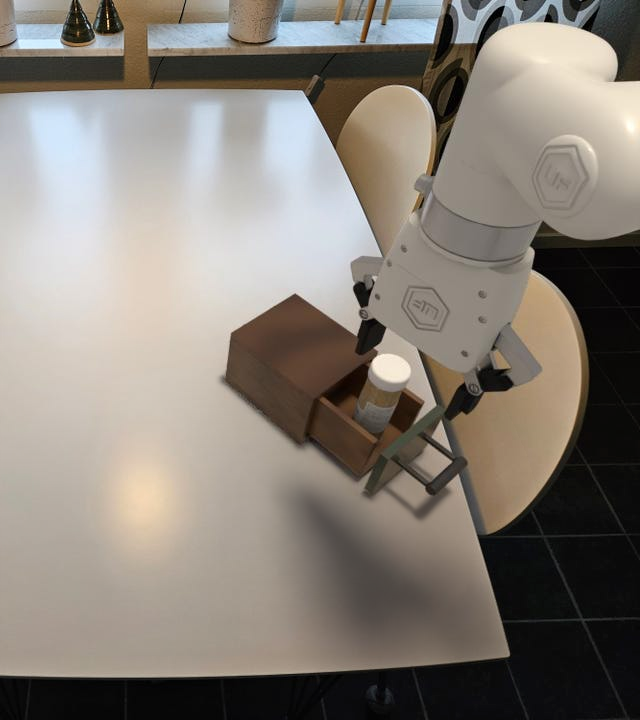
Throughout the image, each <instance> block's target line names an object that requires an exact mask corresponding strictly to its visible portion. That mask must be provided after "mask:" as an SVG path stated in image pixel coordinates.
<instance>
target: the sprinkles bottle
mask: <svg viewBox="0 0 640 720" xmlns="http://www.w3.org/2000/svg"><path fill="white" fill-rule="evenodd" d="M411 376H412V368H411V366H410V363H408V361H407V360H405V359H404V358H403V357H401V356H399V355H397V354H393V353H382V354H377V356H376V357H375V358H374V359H373V361H372V363H371V365H370V368H369V371H368V378H367V380H366V383H365V386H364V388H363V390H362V392H361V395H360V397H359V400H358V402H357V405H356V407H355V410H354V413H353V417H352V420H353V421H355V422H356V423H357V424H359V425H360V426H361V427H362V428H364V429H365V430H366V431H367V432H369V433H370V434H371V435H373V436H374V437H375V438H376V439H378V442H377V444H376V445H378V444H379V443H380V441H381V439H382V435H383V432H384V430H385V428H386V427H387V425H388V423H389V421H390V418H391V416H392V414H393V412H394V410H395V407H396V405H397V403H398V401H399V397H400V395H401V393H402V391H403V389H404V388H405V387H406V388H407V385H408V384H409V381H410V379H411Z"/></svg>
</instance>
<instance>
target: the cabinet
mask: <svg viewBox="0 0 640 720" xmlns="http://www.w3.org/2000/svg"><path fill="white" fill-rule="evenodd" d="M358 340H359V339H358V338H357V334H356V335H355V334H354V333H353V332H351V331H350V330H348V329H347V328H346V327H344V326H343V325H341V324H340V323H339V322H338V321H336V320H334V319H333V318H332V317H330V316H329V315H327V314H325V313H324V312H323V311H321V310H320V309H318V308H317V307H316V306H314V305H313V304H312V303H310V302H308V301H307V300H306V299H304V298H303V297H302V296H300V295H299V294H297V293H293V294H291V295H290V296H288V297H286V298H285V299H283V300H281V301H280V302H278V303H277V304H275V305H274V306H271V307H270V308H269V309H267V310H265V311H264V312H262V313H261V314H259V315H258V316H256V317H254V318H253V319H251V320H250V321H248V322H246V323H245V324H242V325H241V326H239V327H238V328H236V329H235V330H233V331H232V332H230V336H229V345H228V353H227V361H226V369H225V379H224V380H225V381H226V382H227V383H229V384H230V385H231V386H232V387H233V388H234V389H235V390H237V391H238V392H239V393H240V394H241V395H242V396H243V397H245V398H246V399H247V400H248V401H250V402H251V403H252V404H253V405H254V406H255V407H256V408H258V409H259V410H260V411H261V412H262V413H263V414H265V415H266V416H267V417H268V418H269V419H270V420H271V421H272V422H273V423H275V424H276V425H277V426H279V427H280V428H281V429H282V430H283V431H284V432H286V434H288V435H289V436H290V437H291V438H292V439H293V440H295V441H296V442H297V443H298V444H299V445H302V444H304V442H305V441H307V440H308V439H309V438H312V436H311V435H309V434H308V433H307V431H308V428H309V424H310V421H311V418H312V414H313V411H314V408H315V404H316V401H317V399H319V398H320V397H321V396H323V395H324V394H326V393H327V392H328V391H330V390H331V389H332V388H334V387H335V386H336V385H338V384H339V383H340V382H342V381H343V380H344V379H346V378H347V377H349V376H350V375H351V374H353V373H354V372H355V371H357V370H358V369H359V368H361V367H362V366H363V365H365V364H366V363H367V362H371V363H372V361H373V359H374V358H375V357H377V356H378V355H379V350H377V349H375V347H374V348H373V349H371V350H370V351H369V352H367V353H366V354H364V355H363V356H362V355H360V356H359V355H358V354H356V353H355V349H356V346H357V343H358Z"/></svg>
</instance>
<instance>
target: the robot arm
mask: <svg viewBox="0 0 640 720" xmlns="http://www.w3.org/2000/svg"><path fill="white" fill-rule="evenodd" d="M618 67H619V63H618V56H617V53H616V52H615V49H614V48H613V47H612V46H611V44H610V43H609V42H608V41H606V40H605V39H604V38H602V37H600V36H598V35H597V34H594V33H592V32H590V31H587V30H585V29H583V28H579V27H575V26H573V25H568V24H562V23H555V22H545V21H544V22H543V21H530V22H519V23H514V24H510V25H508V26H505V27H503V28H501V29H499V30H497V31H496V32H495V33H493V34H492V35H491V36H490V37H489V38H488V39H487V40H486V41H485V42H484V43H483V45H482V47H481V49H480V50H479V52H478V55H477V58H476V60H475V62H474V65H473V68H472V70H471V73H470V76H469V79H468V81H467V85H466V88H465V91H464V93H463V96H462V99H461V102H460V104H459V108H458V111H457V113H456V116H455V119H454V122H453V125H452V128H451V131H450V134H449V136H448V138H447V141H446V144H445V147H444V150H443V153H442V156H441V159H440V162H439V165H438V167H437V170H436V172H435V175H429V174H427V173H425V172H424V173H422V174H420V175H419V176H418V178H416V181H415V182H414V185H413V189H414V191H417V192H418V193H420V195H421V196H422V197H423V202H422V206H421V208H418V209H416V210H414V211H412V212H411V213H410V214H409V216H408V217H407V219H406V220H405V222H404V224H403V225H402V227H401V228H400V230H399V232H398V233H397V236H396V237H395V239H394V241H393V243H392V244H391V247H390V249H389V251H388V253H387V254H386V256H385V257H382V256H370V255H361V256H359V257H356V258H355V259H353V260H352V261H350V265H349V266H350V271H351V277H352V281H353V283H354V285H353V286H352V291H353V295H354V296H355V298H356V300H357V302H358V305H359V307H360V308H359V309H358V310H357V311H358V312H357V314H358V316H359V318H360V319H361V322H360V324H359V328H358V331H357V334H356V336H357V338H358V339H359V340H358V343H357V346H356V349H355V353H356V354H358V355H359V356H360V355H362V356H363V355H364V354H366V353H367V352H369V351H370V350H371V349H373V348H374V349H375V348H377V346H379V345H380V344H381V343H382V342H383V340H384V336H385V334H386V330H387V329H388V330H390V331H391V332H393V334H395V335H397V336H399V338H401V339H403V340H404V341H405V342H407V343H409V344H410V345H412V346H413V347H414V348H416V349H418V350H419V351H420V352H422V353H424V354H425V355H427V356H428V357H429V358H431V359H432V360H434V361H436V362H437V363H439V364H440V365H442V367H443V366H444V367H445V368H447V369H448V370H451V371H453V372H456V373H459V374H461V375H462V378H463V381H464V382H462V383H461V384H460V385H459V386H458V387H457V388H456V390H455V392H454V394H453V396H452V397H451V399H450V401H449V403H448V405H447V407H446V408H445V409H446V411H445V413H444V415H443V416H444V418H445V419H446V420H448V421H449V422H451V421H452V420H454V419H455V418H456V417H457V416H459V415H460V414H461V413H462V414H464V415H465V416H468V415H469V414H471V413H472V412H473V411H474V410H475V409H476V407H477V406H478V405H479V403H480V401H481V399H482V398H483V396H484V394H485V393H501V392H508V391H509V390H510V389H513V388H515V387H519V386H522V385H525V384H528V383H529V382H532V381H533V380H534V379H536V378H537V377H538V376H539V375H540V374H541V373H542V372H543V367H542V366H541V364H540V362H539V361H538V360H537V358H536V357H535V355H533V353H532V352H531V351H530V350H529V348H528V347H527V345H526V344H525V343H524V342H523V340H522V339H521V338H520V336H519V335H518V334H517V333H516V332H515V329H513V328H512V325H513V323H514V320H515V318H516V316H517V313H518V311H519V309H520V306H521V304H522V301H523V298H524V295H525V292H526V290H527V288H528V287H527V286H528V283H529V280H530V276H531V273H532V268H533V264H534V259H535V250H534V249H533V247H531V244H532V242H533V240H534V238H535V236H536V234H537V232H538V230H539V228H540V226H541V225H542V223H543V222H544V223H545V224H546V225H548V226H549V227H550V228H552V229H553V230H555V231H556V232H558V233H560V234H562V235H563V236H566V237H568V238H572V239H576V240H582V241H600V240H607V239H611V238H616V237H619V236H623V235H627V234H630V233H633V232H636V231H639V230H640V80H632V81H631V80H629V81H615V80H616V78H617V73H618ZM373 277H376V278H375V280H374V279H373ZM496 351H498V352H499V354H500V355H501V356H502V358H503V359H504V360H505V361H506V362H507V364H508V365H509V368H499V367H498V364H497V360H496V357H495V355H494V352H496Z"/></svg>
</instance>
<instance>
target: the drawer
mask: <svg viewBox="0 0 640 720" xmlns="http://www.w3.org/2000/svg"><path fill="white" fill-rule="evenodd" d="M370 365H371V362H367V363H366V364H365V365H363V366H362V367H361V368H359V369H358V370H357V371H355V372H354V373H353V374H351V375H350V376H349V377H347V378H346V379H344V380H343V381H342V382H340V383H339V384H338V385H336V386H335V387H334V388H332V389H331V390H330V391H328V392H327V393H326V394H324V395H323V396H321V397H320V398H319V399H317V401H316V404H315V408H314V411H313V414H312V418H311V421H310V424H309V428H308V431H307V433H308V434H309V435H311V438H312V439H314V440H315V441H316V442H317V443H319V444H320V445H321V446H322V447H323V448H325V449H326V450H327V451H328V452H329V453H331V454H332V455H333V456H334V457H335V458H337V460H338V461H340V462H341V463H342V464H344V465H345V466H346V467H347V468H348V469H350V470H351V471H352V472H353V473H354V474H355V475H357V476H358V477H361V476H362V475H364V474H365V473H366V472H367V471H368V470H370V469H371V468H372V467H373V468H372V470H371V472H370V474H369V477H368V479H367V481H366V484H365V485H364V487H363V489H364V490H365V491H367V493H369V494H370V495H371V496H372V495H373V494H374V493H376V492H377V491H378V490H379V489H380V488H382V486H383V485H385V484H386V483H387V482H388V481H389V480H390V479H392V478H393V476H395V475H396V474H397V473H399V471H400V470H403V471H405V472H406V473H407V474H409V475H410V476H411V478H414V480H416V481H417V482H418V483H420V484H421V485H422V486H423V487H424V489H425V492H426V493H427V494H428V495H429V496H430V497H431V496H432V497H435V496H436V495H438V494H439V493H440V492H441V491H442V490H443V489H445V487H447V485H449V483H451V482H452V481H453V479H455V478H456V477H457V476H458V475H459V474H460V473H462V471H463V470H464V469H465V468H467V467H468V465H469V462H468V460H467V458H465V457H464V456H462V455H458V456H457V455H456V454H454V453H453V452H452V451H450V450H449V449H447V448H446V447H445V446H444V445H442V444H441V443H440V442H438V441H437V440H436V439H434V438H433V435H434V434H435V431H436V430H437V428H438V426H439V424H440V422H441V421H442V419H443V418H444V416H445V415H444V413H445V411H446V409H447V408H444V407H443V406H442V405H440V404H439V403H438V404H436V405H435V406H434V407H433V408H432V409H430V410H429V411H428V412H427V413H426V414H425V415H423V416H422V417H421V418H419V420H418V421H417V418H418V416H419V415H420V412H421V411H422V408H423V406H424V404H425V402H426V401H425V400H424V399H423V398H422V397H420V396H418V395H417V394H415V393H414V392H412V391H411V390H410V389H409V388H407V386H406V387H405V388H404V389H403V391H402V393H401V395H400V397H399V401H398V403H397V405H396V407H395V410H394V412H393V414H392V416H391V418H390V421H389V423H388V425H387V427H386V428H385V430H384V432H383V435H382V439H381V441H380V443H379V444H378V445H376V444H377V442H378V439H376V438H375V437H374V436H373V435H371V434H370V433H369V432H367V431H366V430H365V429H364V428H362V427H361V426H360V425H359V424H357V423H356V422H355V421H353V420H352V417H353V413H354V410H355V407H356V405H357V402H358V400H359V397H360V395H361V392H362V390H363V388H364V386H365V383H366V380H367V378H368V371H369V368H370ZM428 445H430V446H431V447H432V448H434V449H435V450H436V451H437V452H439V453H441V455H443V456H444V457H445V458H447V459H448V460H449V461H451V462H450V463H449V464H448V465H447V466H446V467H445V468H444V469H443V470H442V471H441V472H440V473H439V474H437V475H436V476H435V477H434V478H433V479H432V480H431V481H430V480H428V479H427V478H426V477H424V476H423V475H422V474H420V472H418V471H417V470H416V469H414V468H413V467H412V466H410V465H409V463H410V462H411V461H412V460H413V459H414V458H415V457H416V456H417V455H419V454H420V453H421V452H422V451H423V450H425V449H426V448H427V447H428Z"/></svg>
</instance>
